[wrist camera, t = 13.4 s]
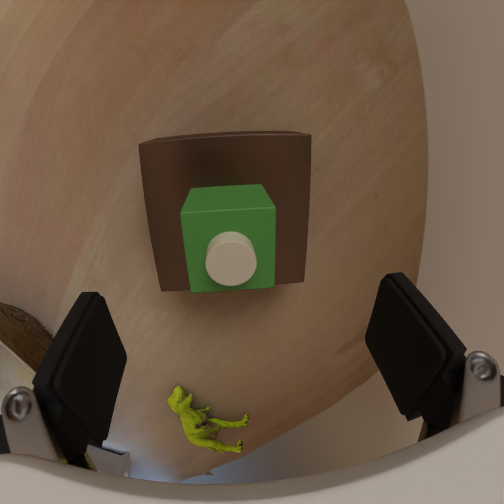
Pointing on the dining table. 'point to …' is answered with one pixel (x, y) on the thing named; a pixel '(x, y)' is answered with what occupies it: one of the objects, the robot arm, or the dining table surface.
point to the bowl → (20, 348)
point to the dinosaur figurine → (202, 423)
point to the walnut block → (227, 174)
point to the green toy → (229, 238)
